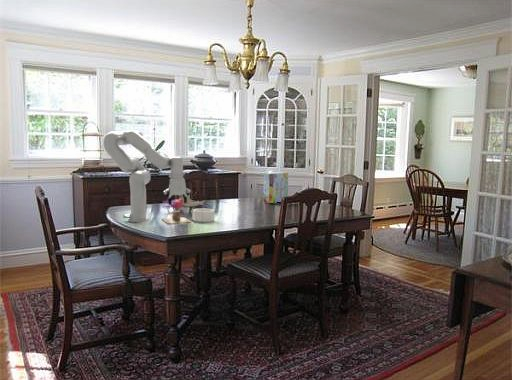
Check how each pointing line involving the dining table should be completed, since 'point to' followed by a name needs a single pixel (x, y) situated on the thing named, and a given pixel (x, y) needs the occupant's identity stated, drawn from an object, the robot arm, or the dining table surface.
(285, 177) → the snack box
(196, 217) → the ceramic bowl
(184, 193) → the robot arm
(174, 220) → the birch lid
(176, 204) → the heart model
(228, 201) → the dining table surface
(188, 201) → the jawbone
